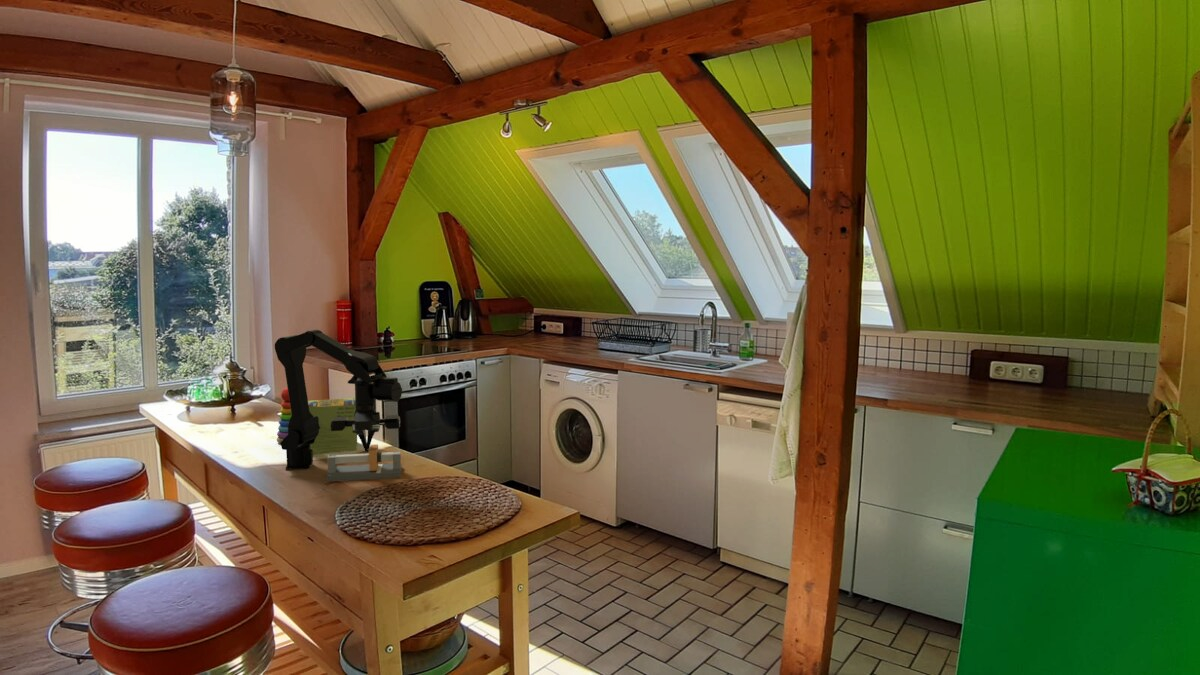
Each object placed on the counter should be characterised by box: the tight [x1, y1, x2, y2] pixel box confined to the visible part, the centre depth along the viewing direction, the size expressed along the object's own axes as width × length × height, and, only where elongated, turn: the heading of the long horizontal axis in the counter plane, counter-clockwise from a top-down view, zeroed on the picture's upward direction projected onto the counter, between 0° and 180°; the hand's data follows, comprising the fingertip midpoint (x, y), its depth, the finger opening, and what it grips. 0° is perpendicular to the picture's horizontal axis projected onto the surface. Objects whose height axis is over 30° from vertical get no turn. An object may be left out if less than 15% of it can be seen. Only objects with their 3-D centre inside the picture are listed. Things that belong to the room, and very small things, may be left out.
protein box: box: [308, 397, 358, 455], centre depth 222 cm, size 10×15×16 cm
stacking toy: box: [276, 387, 291, 444], centre depth 228 cm, size 8×8×19 cm
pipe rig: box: [326, 450, 402, 482], centre depth 198 cm, size 20×9×6 cm, turn 104°
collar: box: [368, 443, 379, 471], centre depth 198 cm, size 2×6×6 cm, turn 14°
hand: (366, 451), depth 197 cm, fingers closed
